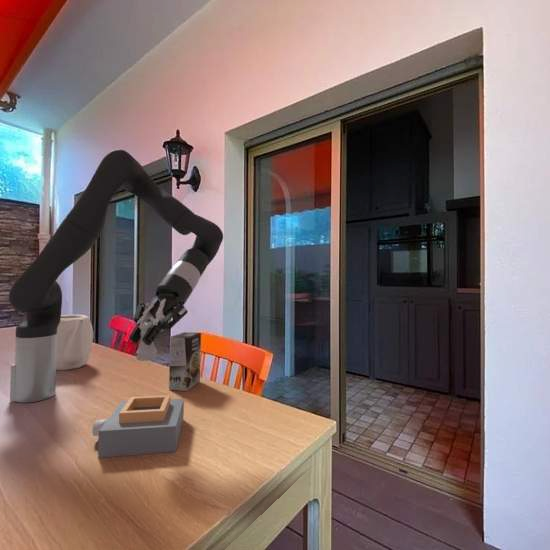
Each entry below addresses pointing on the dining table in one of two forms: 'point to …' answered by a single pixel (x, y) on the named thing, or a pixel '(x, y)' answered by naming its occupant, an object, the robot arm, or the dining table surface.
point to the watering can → (73, 341)
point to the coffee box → (184, 361)
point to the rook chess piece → (145, 350)
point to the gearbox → (141, 427)
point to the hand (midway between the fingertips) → (139, 341)
